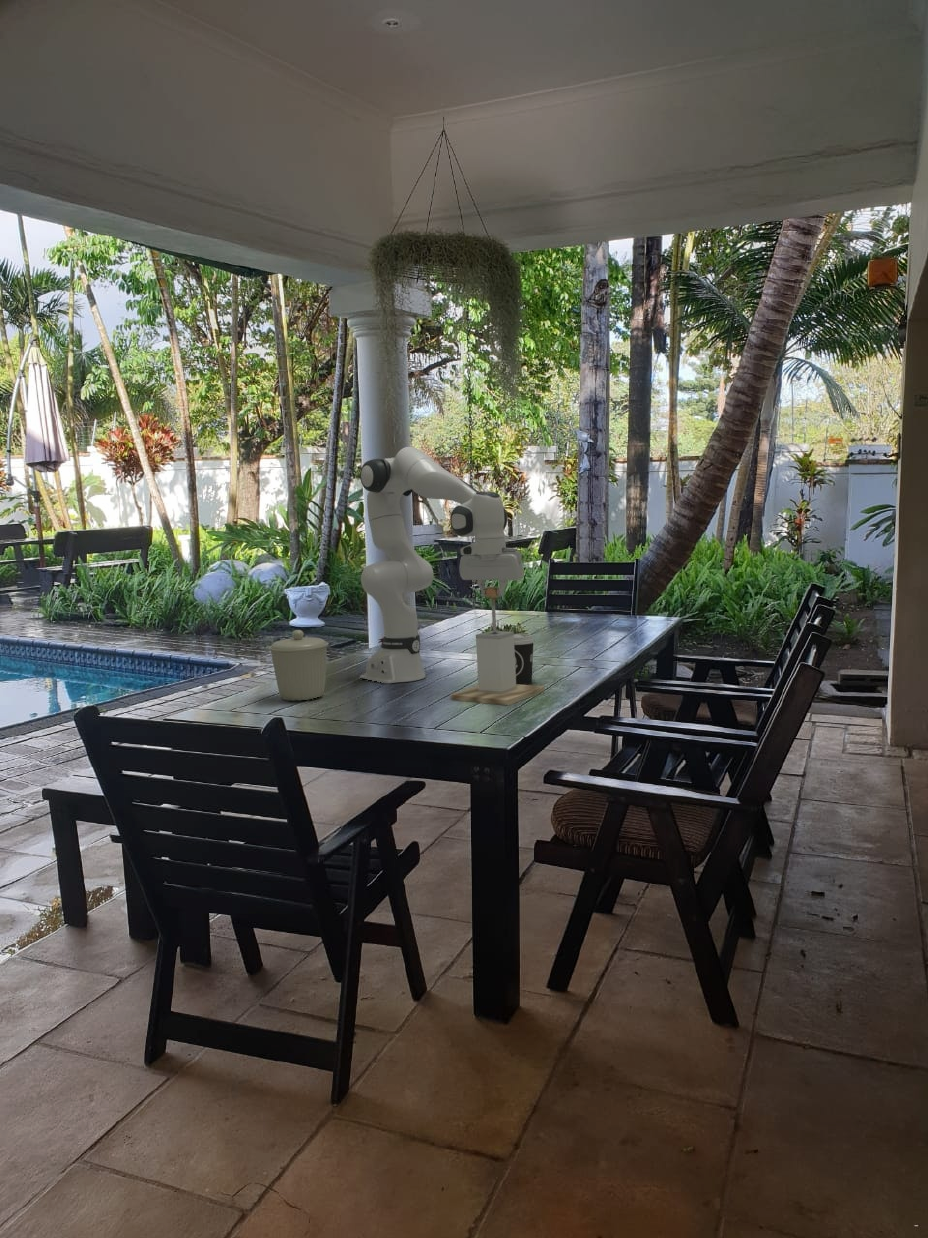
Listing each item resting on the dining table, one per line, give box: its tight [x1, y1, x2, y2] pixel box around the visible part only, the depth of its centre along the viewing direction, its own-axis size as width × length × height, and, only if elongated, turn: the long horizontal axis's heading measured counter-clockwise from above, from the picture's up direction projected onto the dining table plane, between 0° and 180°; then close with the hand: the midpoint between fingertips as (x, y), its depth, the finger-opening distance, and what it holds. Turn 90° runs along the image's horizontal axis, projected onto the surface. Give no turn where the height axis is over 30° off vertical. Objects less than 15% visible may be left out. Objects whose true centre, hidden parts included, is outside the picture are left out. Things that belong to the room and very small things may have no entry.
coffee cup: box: [514, 633, 536, 685], centre depth 303 cm, size 10×10×15 cm
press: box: [475, 630, 516, 694], centre depth 288 cm, size 8×11×17 cm
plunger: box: [485, 586, 501, 634], centre depth 285 cm, size 6×6×20 cm
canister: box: [267, 629, 330, 701], centre depth 298 cm, size 18×18×21 cm
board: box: [449, 684, 545, 706], centre depth 288 cm, size 20×20×2 cm
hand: (492, 595), depth 284 cm, fingers closed on plunger, 4 cm apart
